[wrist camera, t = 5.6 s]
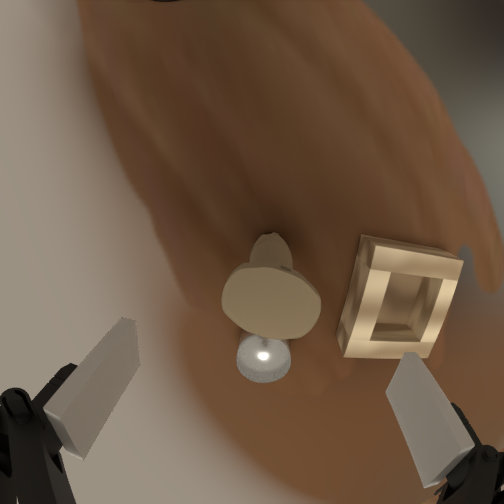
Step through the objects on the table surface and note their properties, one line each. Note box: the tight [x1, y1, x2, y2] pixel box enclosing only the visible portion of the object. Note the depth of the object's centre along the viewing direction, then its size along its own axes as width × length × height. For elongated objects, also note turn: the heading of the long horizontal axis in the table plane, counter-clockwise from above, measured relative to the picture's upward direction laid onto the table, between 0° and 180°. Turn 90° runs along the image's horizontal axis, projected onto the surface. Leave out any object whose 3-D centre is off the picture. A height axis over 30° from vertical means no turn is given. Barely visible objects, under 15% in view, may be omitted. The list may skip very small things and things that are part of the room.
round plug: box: [237, 329, 291, 383], centre depth 33 cm, size 6×6×6 cm
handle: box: [221, 232, 321, 340], centre depth 25 cm, size 5×6×15 cm
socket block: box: [336, 235, 464, 358], centre depth 31 cm, size 14×12×5 cm
